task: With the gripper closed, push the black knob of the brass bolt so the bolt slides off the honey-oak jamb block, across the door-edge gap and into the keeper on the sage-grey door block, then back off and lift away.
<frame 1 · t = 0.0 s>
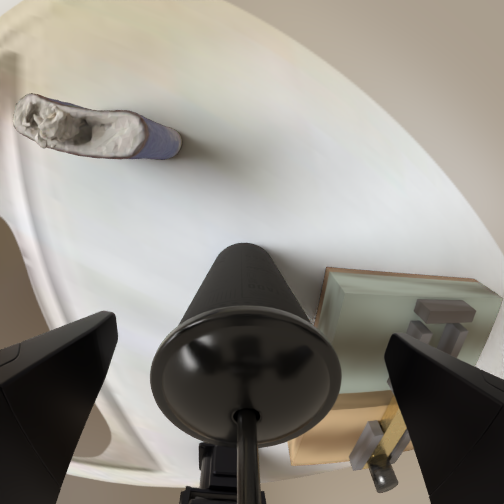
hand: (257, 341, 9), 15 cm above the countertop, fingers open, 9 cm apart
bolt: (394, 448, 21), point 8 cm above the countertop, slide at 0.0 cm
drinking cup: (243, 271, 24), on the countertop
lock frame: (383, 365, 27), on the countertop
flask: (127, 134, 21), on the countertop
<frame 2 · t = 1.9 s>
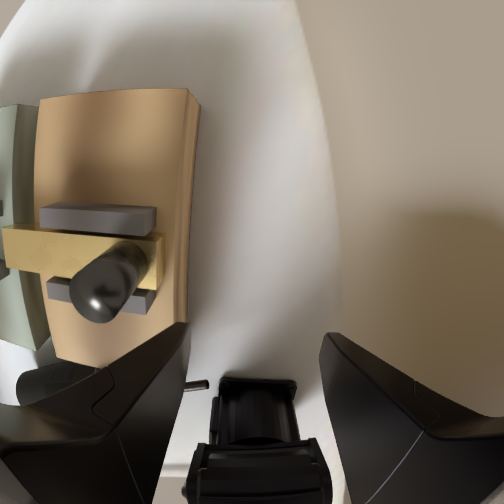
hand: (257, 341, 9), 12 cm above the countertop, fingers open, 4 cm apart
bolt: (56, 263, 12), point 8 cm above the countertop, slide at 0.0 cm
drinking cup: (32, 393, 22), point 2 cm above the countertop, touching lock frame
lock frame: (63, 223, 20), on the countertop
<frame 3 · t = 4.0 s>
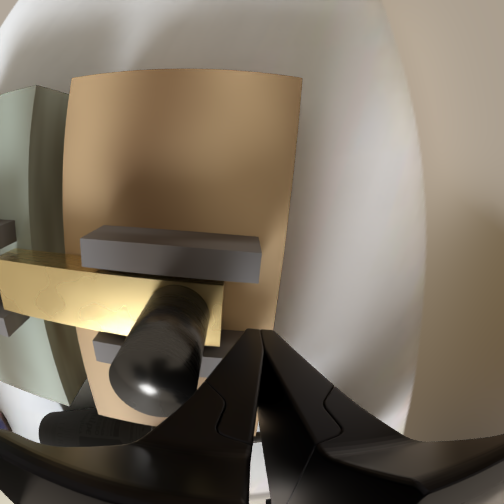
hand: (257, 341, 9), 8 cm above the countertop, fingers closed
bolt: (74, 315, 9), point 8 cm above the countertop, slide at 1.6 cm, touching gripper
drinking cup: (57, 437, 19), point 2 cm above the countertop, touching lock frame
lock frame: (95, 245, 16), on the countertop
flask: (6, 428, 23), on the countertop
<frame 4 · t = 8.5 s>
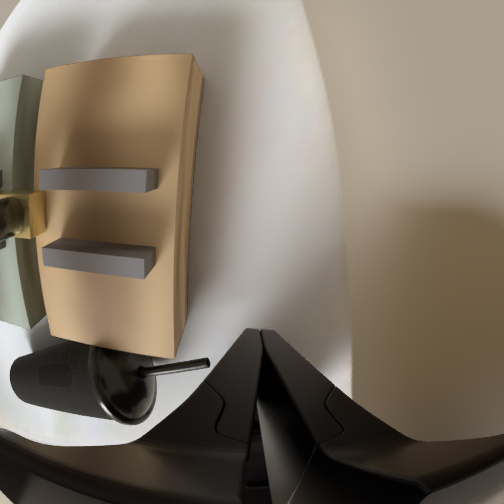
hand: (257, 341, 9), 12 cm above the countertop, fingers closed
drinking cup: (27, 380, 21), point 2 cm above the countertop, touching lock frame
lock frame: (63, 197, 19), on the countertop
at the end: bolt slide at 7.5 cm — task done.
